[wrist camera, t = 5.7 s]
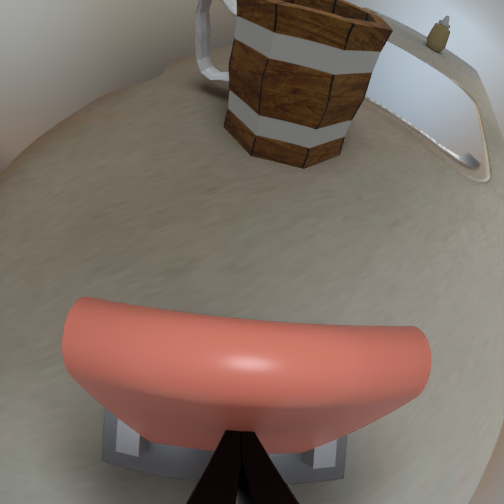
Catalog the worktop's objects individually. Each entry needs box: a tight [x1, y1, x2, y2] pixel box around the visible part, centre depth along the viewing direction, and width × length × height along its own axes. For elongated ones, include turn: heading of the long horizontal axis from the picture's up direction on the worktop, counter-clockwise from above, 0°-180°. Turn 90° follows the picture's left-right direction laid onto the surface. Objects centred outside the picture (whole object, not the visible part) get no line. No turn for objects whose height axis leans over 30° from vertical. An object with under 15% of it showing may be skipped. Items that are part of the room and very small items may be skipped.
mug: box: [195, 0, 393, 169], centre depth 24 cm, size 20×14×15 cm
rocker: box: [62, 297, 431, 454], centre depth 9 cm, size 2×8×11 cm, turn 87°
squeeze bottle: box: [427, 16, 450, 53], centre depth 65 cm, size 8×8×18 cm
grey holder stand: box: [102, 408, 347, 484], centre depth 14 cm, size 9×14×4 cm, turn 86°
